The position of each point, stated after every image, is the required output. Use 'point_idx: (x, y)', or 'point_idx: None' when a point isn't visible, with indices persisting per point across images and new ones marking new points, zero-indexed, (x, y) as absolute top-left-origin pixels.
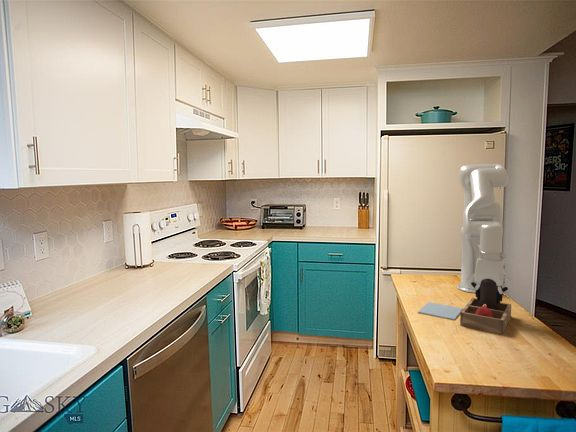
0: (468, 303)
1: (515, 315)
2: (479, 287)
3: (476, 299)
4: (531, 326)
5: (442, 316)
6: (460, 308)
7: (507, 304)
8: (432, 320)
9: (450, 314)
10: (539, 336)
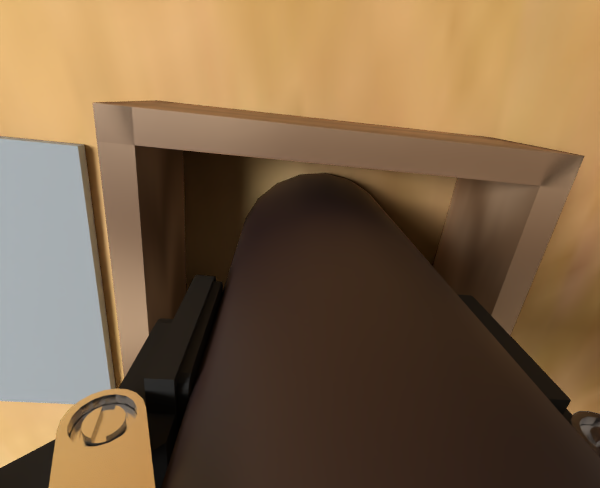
0: (127, 347)
1: (540, 80)
2: (154, 457)
3: (164, 146)
4: (586, 283)
5: (27, 399)
6: (59, 164)
7: (533, 185)
8: (7, 450)
9: (54, 343)
10: (574, 404)
